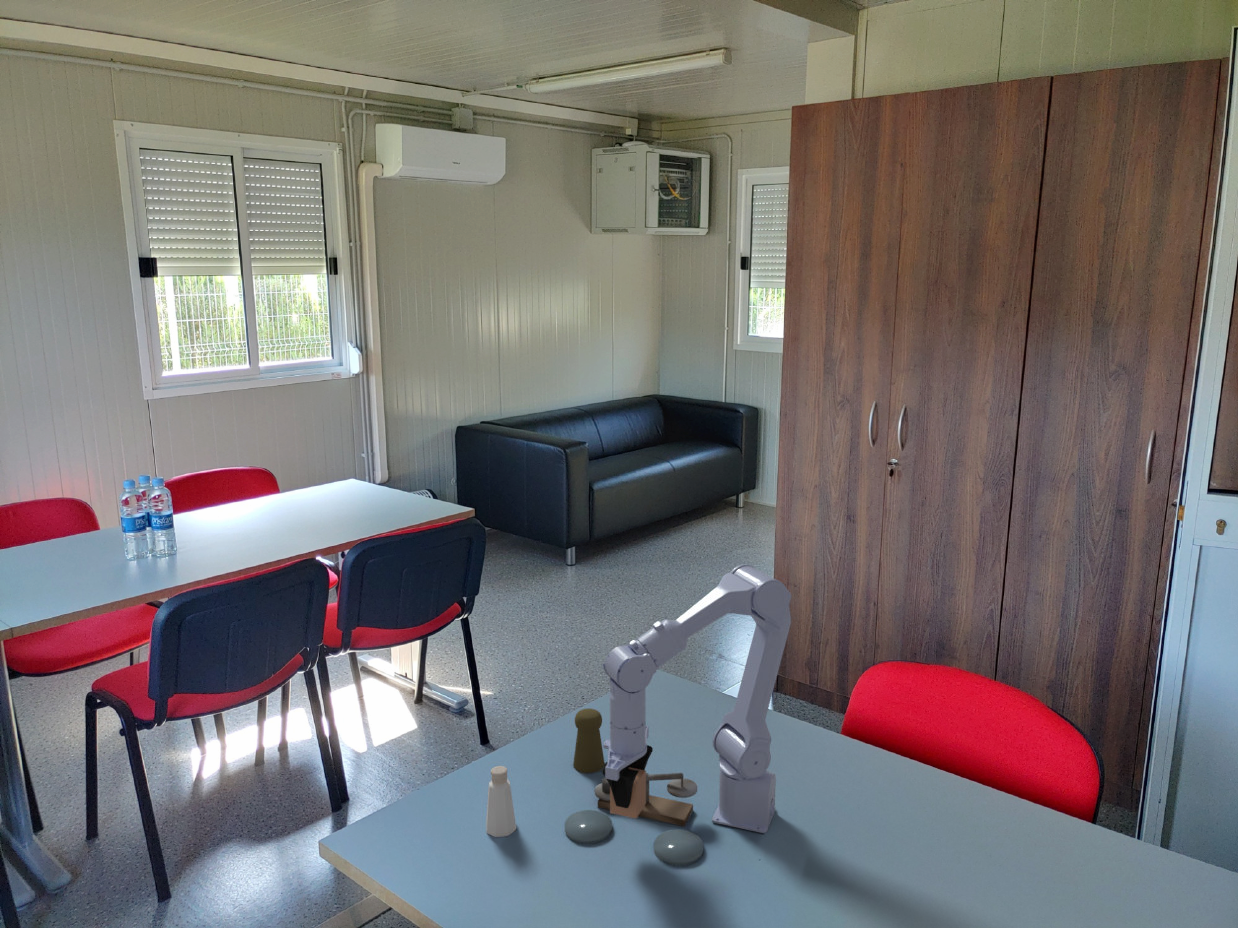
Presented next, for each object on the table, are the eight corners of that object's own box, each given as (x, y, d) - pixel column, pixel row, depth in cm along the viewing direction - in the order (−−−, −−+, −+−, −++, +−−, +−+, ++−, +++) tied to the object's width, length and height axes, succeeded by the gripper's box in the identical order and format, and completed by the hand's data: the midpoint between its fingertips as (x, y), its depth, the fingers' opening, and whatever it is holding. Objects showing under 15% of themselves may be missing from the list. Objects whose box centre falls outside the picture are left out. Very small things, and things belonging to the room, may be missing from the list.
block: (645, 803, 152) (645, 770, 151) (636, 818, 148) (636, 784, 147) (620, 797, 154) (620, 765, 152) (610, 812, 149) (609, 779, 148)
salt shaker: (511, 839, 154) (509, 779, 152) (480, 835, 155) (478, 776, 153) (521, 820, 159) (519, 762, 157) (491, 816, 160) (489, 759, 158)
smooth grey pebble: (708, 840, 153) (708, 835, 153) (694, 869, 146) (694, 864, 146) (663, 830, 156) (663, 825, 156) (647, 858, 149) (647, 853, 149)
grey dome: (618, 820, 159) (618, 815, 159) (601, 847, 152) (601, 842, 152) (576, 811, 162) (576, 806, 162) (557, 837, 155) (556, 831, 154)
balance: (700, 811, 162) (701, 768, 160) (691, 828, 157) (692, 784, 155) (601, 790, 168) (601, 748, 167) (590, 805, 164) (589, 763, 162)
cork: (604, 773, 174) (603, 719, 172) (572, 772, 174) (571, 719, 172) (605, 756, 180) (604, 704, 178) (574, 756, 180) (573, 704, 178)
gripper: (620, 697, 155) (621, 770, 158) (586, 737, 142) (587, 816, 145) (660, 703, 153) (660, 778, 156) (629, 745, 140) (630, 826, 143)
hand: (628, 797), depth 150 cm, fingers closed on block, 4 cm apart
